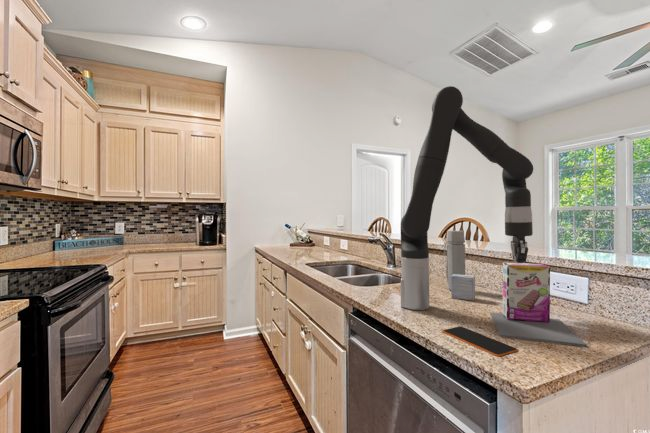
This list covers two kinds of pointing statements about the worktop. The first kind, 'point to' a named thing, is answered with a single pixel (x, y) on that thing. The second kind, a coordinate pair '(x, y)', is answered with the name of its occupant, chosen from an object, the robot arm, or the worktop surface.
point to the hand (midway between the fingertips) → (519, 274)
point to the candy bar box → (526, 292)
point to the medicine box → (463, 287)
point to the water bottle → (454, 255)
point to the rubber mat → (536, 330)
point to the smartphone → (480, 341)
